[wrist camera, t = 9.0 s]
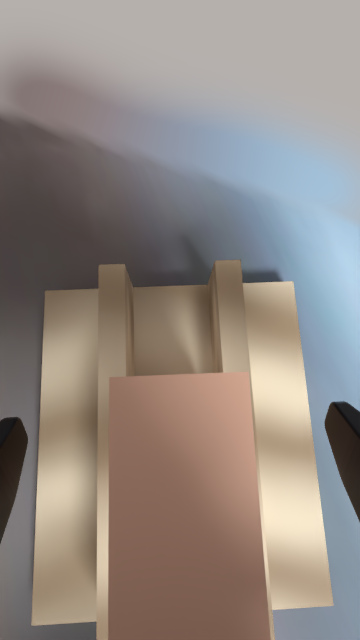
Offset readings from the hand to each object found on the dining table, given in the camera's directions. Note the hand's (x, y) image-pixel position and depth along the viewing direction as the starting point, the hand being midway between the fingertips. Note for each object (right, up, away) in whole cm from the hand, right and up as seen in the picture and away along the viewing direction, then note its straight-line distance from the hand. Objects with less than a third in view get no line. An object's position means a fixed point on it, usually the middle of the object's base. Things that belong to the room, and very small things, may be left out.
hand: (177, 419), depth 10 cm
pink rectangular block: (0, -3, +8) cm, 8 cm away
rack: (0, -3, +9) cm, 9 cm away
